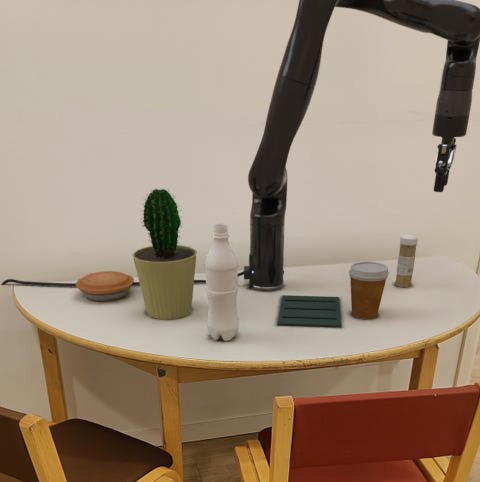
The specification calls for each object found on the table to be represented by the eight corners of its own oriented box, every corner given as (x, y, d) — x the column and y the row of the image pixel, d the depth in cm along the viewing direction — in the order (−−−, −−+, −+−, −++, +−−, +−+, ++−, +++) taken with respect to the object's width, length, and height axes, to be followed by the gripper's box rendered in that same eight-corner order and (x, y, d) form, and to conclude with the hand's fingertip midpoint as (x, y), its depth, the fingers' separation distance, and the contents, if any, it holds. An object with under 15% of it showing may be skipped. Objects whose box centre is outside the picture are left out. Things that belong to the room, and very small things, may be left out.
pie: (65, 300, 160) (62, 281, 157) (98, 282, 172) (96, 265, 170) (115, 307, 155) (113, 288, 152) (145, 288, 167) (143, 271, 165)
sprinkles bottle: (405, 281, 170) (411, 233, 163) (414, 286, 167) (421, 237, 160) (391, 283, 169) (397, 235, 162) (400, 288, 165) (407, 239, 158)
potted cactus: (211, 307, 154) (207, 183, 138) (173, 327, 143) (163, 195, 127) (165, 296, 161) (156, 178, 146) (126, 314, 151) (111, 188, 135)
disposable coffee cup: (381, 308, 152) (387, 261, 146) (385, 322, 144) (392, 273, 138) (344, 307, 153) (348, 260, 147) (346, 321, 145) (350, 272, 139)
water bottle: (207, 331, 141) (202, 221, 128) (237, 330, 141) (236, 220, 128) (208, 343, 135) (203, 229, 121) (240, 342, 135) (239, 228, 122)
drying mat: (277, 325, 143) (277, 321, 143) (282, 297, 160) (282, 294, 160) (340, 327, 142) (341, 324, 141) (338, 298, 159) (339, 295, 158)
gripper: (438, 110, 142) (428, 182, 151) (431, 114, 131) (420, 192, 140) (471, 110, 140) (459, 184, 149) (467, 115, 129) (453, 195, 137)
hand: (440, 188), depth 144 cm, fingers open, 8 cm apart
